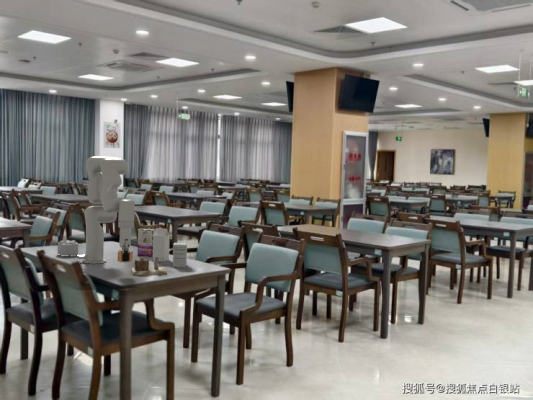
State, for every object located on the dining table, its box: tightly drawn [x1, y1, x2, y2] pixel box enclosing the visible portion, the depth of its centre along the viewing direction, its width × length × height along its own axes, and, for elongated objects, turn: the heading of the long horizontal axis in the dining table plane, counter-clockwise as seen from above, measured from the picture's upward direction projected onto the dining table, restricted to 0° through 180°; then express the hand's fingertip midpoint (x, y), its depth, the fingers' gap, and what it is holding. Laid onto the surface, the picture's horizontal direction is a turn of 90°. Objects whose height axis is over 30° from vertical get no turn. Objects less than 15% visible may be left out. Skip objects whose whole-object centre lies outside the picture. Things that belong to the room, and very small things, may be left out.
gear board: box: [130, 256, 168, 276], centre depth 276 cm, size 17×11×8 cm, turn 109°
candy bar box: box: [137, 228, 156, 258], centre depth 326 cm, size 11×5×16 cm, turn 68°
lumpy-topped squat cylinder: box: [57, 239, 79, 256], centre depth 319 cm, size 10×13×9 cm
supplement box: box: [172, 242, 188, 268], centre depth 296 cm, size 7×7×13 cm
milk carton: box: [152, 227, 170, 263], centre depth 310 cm, size 7×7×19 cm
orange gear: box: [117, 249, 134, 264], centre depth 265 cm, size 7×7×5 cm
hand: (125, 259), depth 265 cm, fingers closed on orange gear, 7 cm apart
